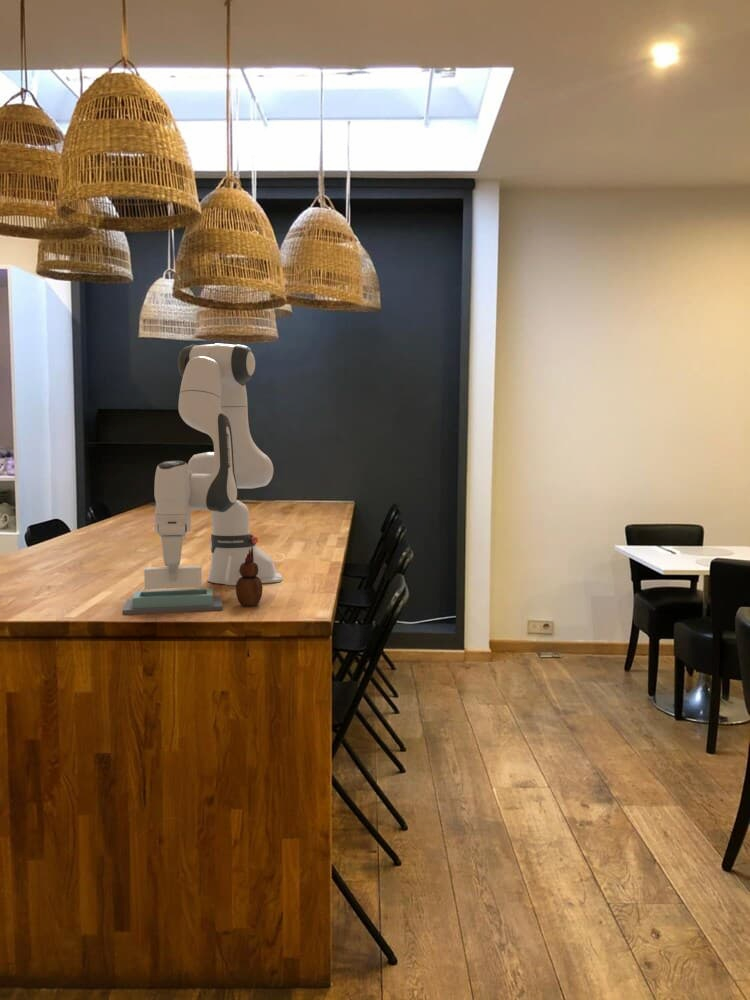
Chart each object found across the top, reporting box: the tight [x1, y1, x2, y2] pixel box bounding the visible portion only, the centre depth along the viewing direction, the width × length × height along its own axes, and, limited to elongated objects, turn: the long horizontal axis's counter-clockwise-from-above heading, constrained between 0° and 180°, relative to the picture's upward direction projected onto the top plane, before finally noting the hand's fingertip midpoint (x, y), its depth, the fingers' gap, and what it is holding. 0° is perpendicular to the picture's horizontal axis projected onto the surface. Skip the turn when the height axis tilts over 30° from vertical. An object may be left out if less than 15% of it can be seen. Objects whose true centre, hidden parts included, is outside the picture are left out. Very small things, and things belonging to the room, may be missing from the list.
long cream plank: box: [143, 565, 203, 590], centre depth 195 cm, size 14×4×5 cm, turn 105°
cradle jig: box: [122, 587, 223, 615], centre depth 195 cm, size 24×13×4 cm, turn 103°
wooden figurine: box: [235, 547, 263, 607], centre depth 197 cm, size 7×6×15 cm
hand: (173, 578), depth 195 cm, fingers closed on long cream plank, 4 cm apart
